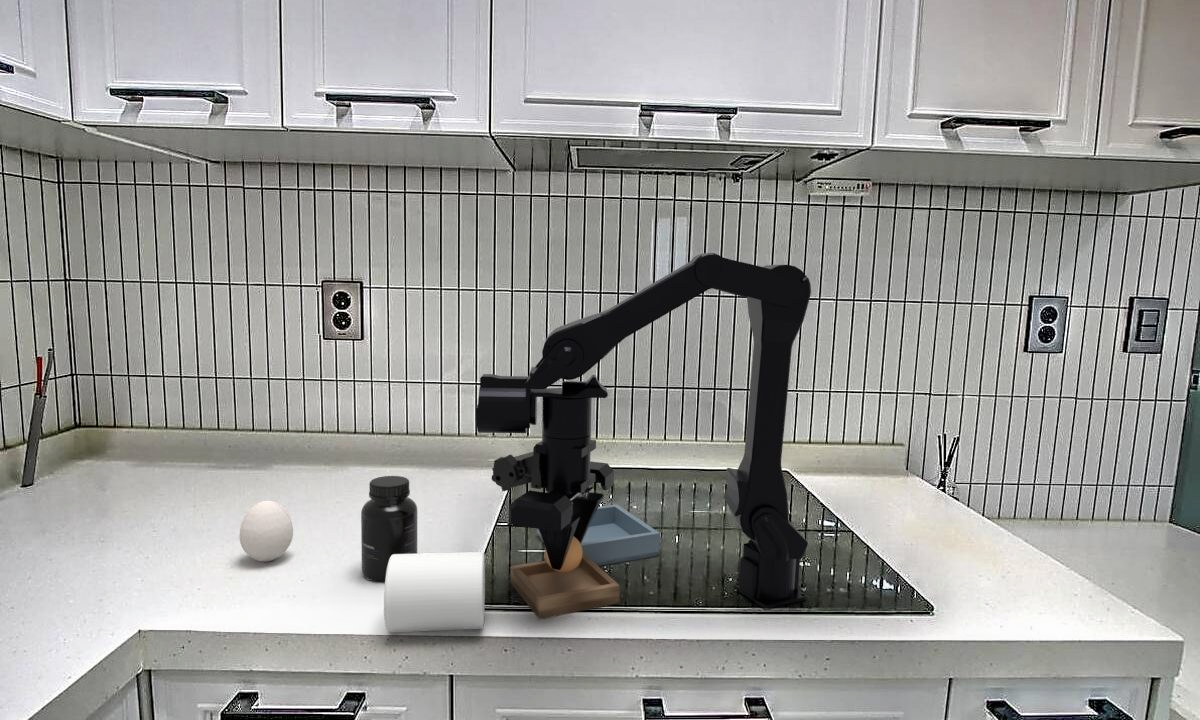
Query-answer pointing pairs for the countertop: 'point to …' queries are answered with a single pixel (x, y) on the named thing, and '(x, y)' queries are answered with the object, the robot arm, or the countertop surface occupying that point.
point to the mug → (435, 592)
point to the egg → (266, 531)
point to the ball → (570, 557)
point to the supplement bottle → (387, 525)
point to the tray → (564, 588)
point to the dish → (618, 537)
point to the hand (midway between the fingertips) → (564, 561)
